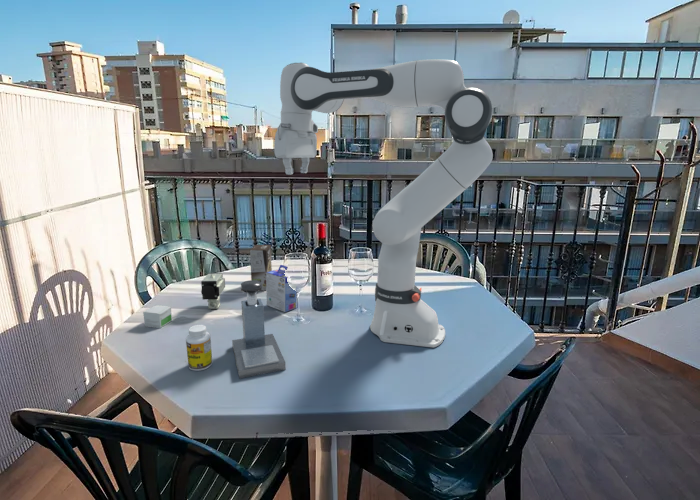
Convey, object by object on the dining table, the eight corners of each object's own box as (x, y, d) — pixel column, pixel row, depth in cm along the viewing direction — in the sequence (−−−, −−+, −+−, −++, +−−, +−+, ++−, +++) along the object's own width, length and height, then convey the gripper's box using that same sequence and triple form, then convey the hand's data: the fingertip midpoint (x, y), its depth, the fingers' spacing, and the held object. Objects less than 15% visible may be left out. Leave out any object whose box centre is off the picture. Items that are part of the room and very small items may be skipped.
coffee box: (267, 290, 145) (266, 250, 141) (251, 290, 145) (249, 249, 141) (272, 282, 154) (271, 244, 150) (257, 282, 154) (255, 244, 150)
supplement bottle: (183, 369, 92) (179, 330, 90) (199, 357, 97) (196, 321, 95) (201, 374, 90) (198, 335, 88) (217, 362, 95) (214, 325, 93)
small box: (160, 328, 113) (159, 313, 112) (144, 326, 114) (142, 311, 113) (173, 320, 118) (171, 306, 117) (157, 318, 119) (155, 304, 118)
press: (285, 369, 93) (284, 320, 90) (239, 378, 89) (236, 328, 86) (272, 340, 107) (271, 297, 104) (232, 346, 103) (229, 302, 100)
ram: (264, 329, 100) (263, 285, 97) (244, 332, 98) (242, 287, 95) (261, 321, 105) (259, 279, 102) (242, 324, 103) (239, 281, 100)
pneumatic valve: (202, 314, 123) (199, 279, 120) (211, 301, 134) (209, 268, 131) (219, 314, 123) (217, 279, 120) (227, 300, 135) (225, 268, 132)
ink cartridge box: (297, 308, 130) (297, 267, 126) (285, 313, 125) (284, 271, 122) (278, 301, 135) (276, 262, 132) (266, 305, 131) (264, 265, 128)
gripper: (288, 122, 99) (289, 175, 102) (320, 127, 118) (320, 172, 121) (267, 122, 101) (269, 174, 104) (302, 127, 120) (302, 171, 123)
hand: (297, 173), depth 113 cm, fingers open, 8 cm apart
